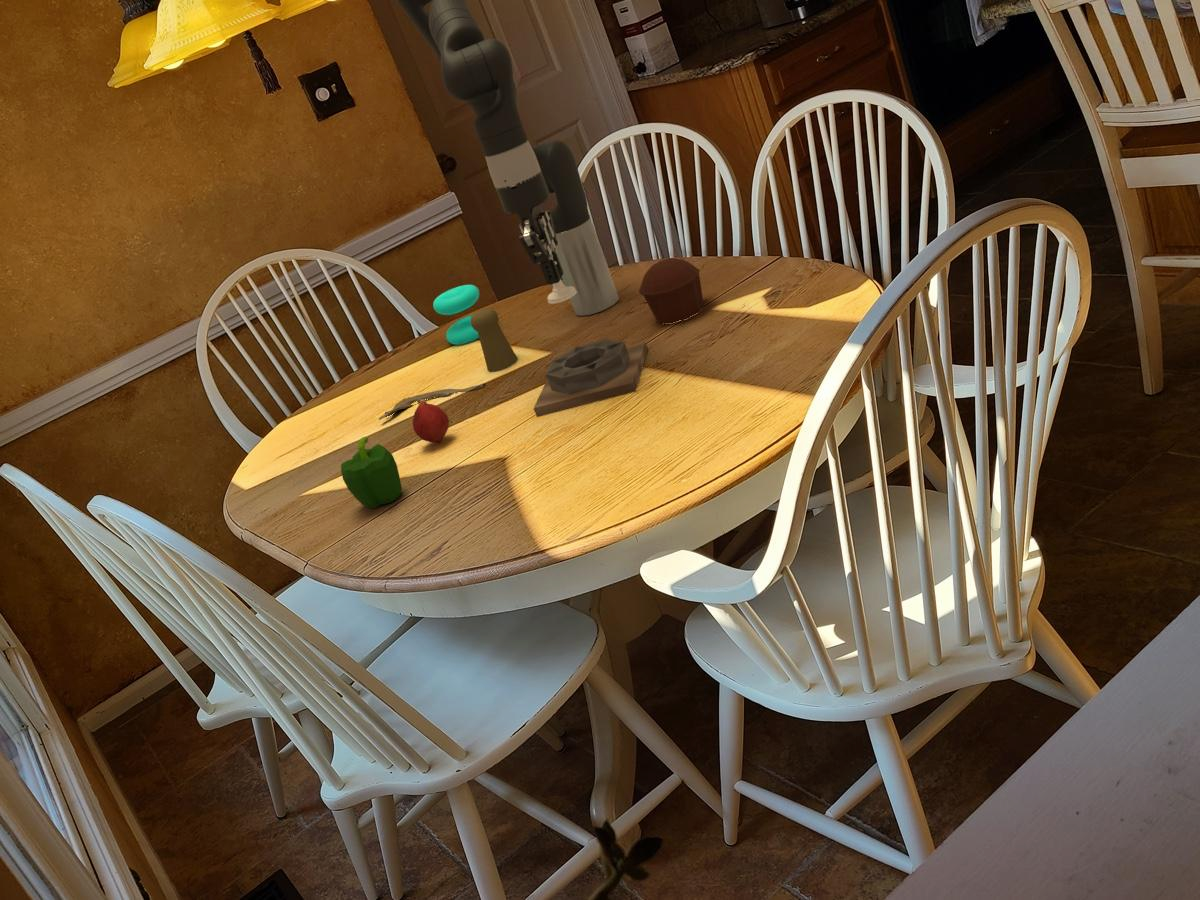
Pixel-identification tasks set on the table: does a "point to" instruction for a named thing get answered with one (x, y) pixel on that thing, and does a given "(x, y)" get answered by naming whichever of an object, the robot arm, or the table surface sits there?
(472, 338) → the donuts
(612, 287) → the robot arm
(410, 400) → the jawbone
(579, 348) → the collar socket
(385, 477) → the bell pepper
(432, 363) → the table surface
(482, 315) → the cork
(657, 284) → the muffin
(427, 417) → the onion
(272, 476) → the table surface
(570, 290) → the chess piece
